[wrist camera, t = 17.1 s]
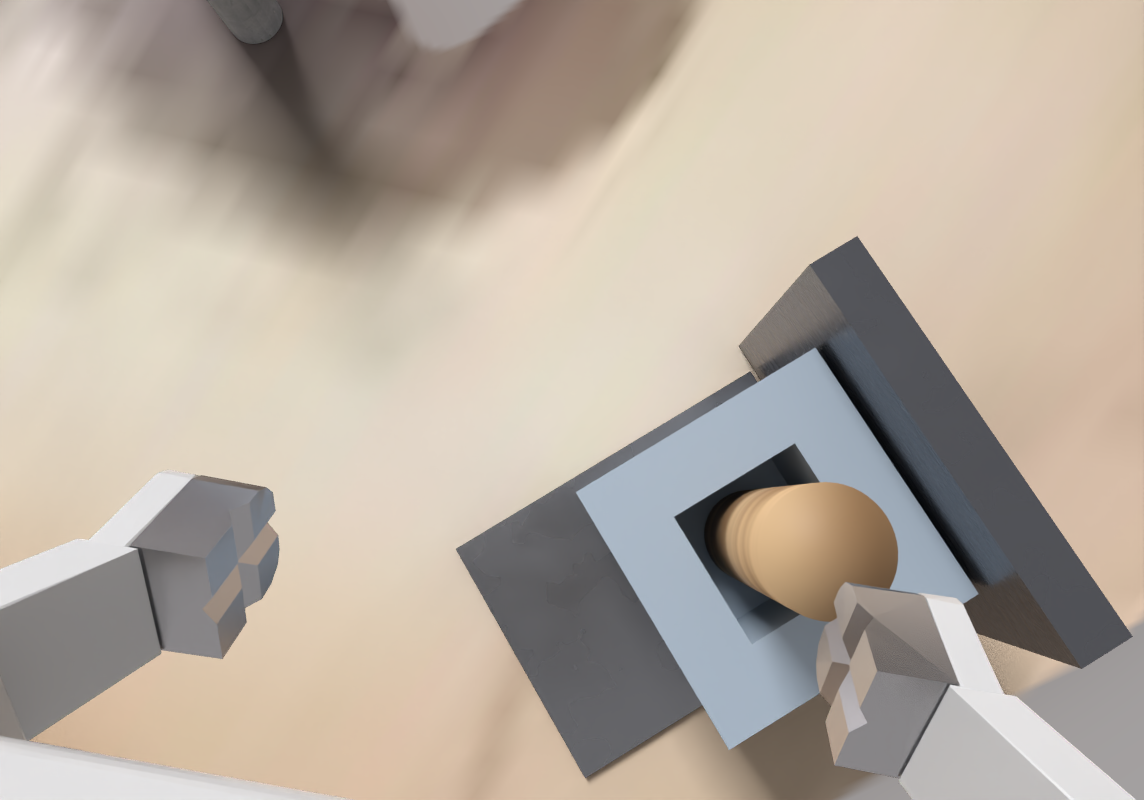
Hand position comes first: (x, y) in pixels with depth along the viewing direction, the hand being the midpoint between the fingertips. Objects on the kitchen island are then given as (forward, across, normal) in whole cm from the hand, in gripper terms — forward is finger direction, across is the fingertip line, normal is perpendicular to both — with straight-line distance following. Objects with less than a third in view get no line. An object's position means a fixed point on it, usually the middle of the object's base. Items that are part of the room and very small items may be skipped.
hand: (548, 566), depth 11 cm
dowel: (+19, -8, +14) cm, 25 cm away
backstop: (+23, -6, +19) cm, 30 cm away
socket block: (+23, -8, +17) cm, 30 cm away
